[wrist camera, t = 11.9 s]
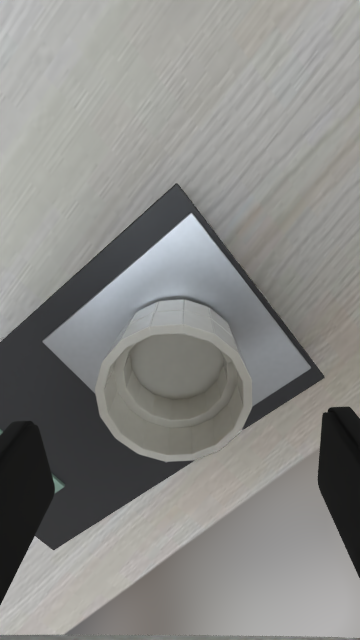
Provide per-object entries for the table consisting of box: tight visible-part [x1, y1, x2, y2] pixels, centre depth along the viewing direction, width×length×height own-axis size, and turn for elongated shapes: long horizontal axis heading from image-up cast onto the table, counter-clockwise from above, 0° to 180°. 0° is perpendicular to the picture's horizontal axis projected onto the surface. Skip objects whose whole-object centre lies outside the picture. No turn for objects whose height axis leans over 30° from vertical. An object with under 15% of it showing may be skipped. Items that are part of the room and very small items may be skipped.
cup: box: [95, 299, 252, 462], centre depth 16 cm, size 7×7×4 cm
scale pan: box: [42, 213, 311, 463], centre depth 18 cm, size 11×11×1 cm
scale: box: [0, 184, 325, 550], centre depth 21 cm, size 24×14×3 cm, turn 130°
